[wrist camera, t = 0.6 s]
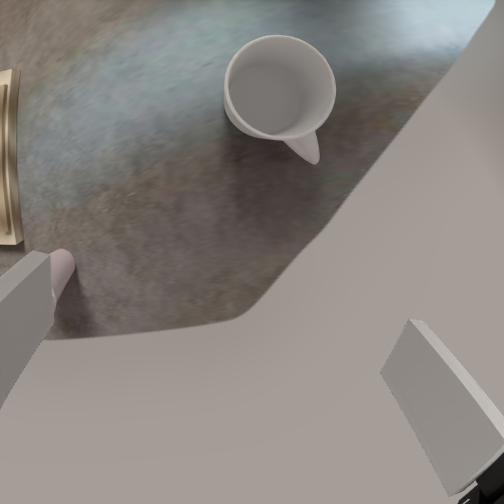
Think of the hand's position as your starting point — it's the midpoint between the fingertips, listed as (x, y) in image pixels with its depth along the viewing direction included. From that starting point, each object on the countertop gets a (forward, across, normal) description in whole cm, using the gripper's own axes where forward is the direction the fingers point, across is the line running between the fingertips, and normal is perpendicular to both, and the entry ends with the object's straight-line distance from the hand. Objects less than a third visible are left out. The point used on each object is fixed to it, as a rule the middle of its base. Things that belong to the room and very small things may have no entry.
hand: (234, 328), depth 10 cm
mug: (+26, +3, +9) cm, 28 cm away
